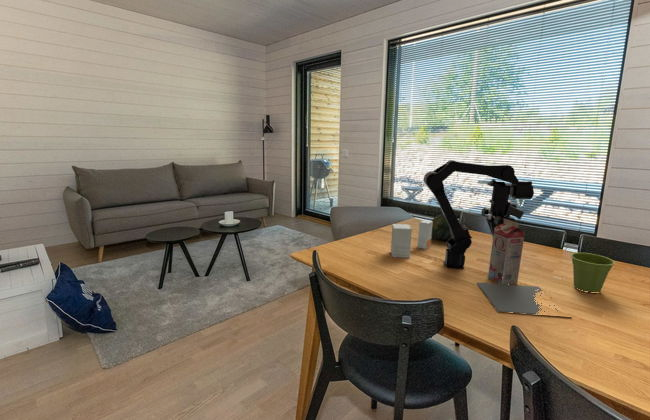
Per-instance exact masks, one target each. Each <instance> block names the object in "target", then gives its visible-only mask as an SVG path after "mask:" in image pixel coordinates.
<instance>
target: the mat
mask: <svg viewBox="0 0 650 420" xmlns="http://www.w3.org/2000/svg"><path fill="white" fill-rule="evenodd" d="M477 284H478V285H477ZM476 285H477V287H478V288H479V289H480V288H481V289H482V290H481V289H480V290H481V292H482V291H483V292H484V293H485V294H484V293H483V292H482V293H483V294H484V296H485V295H486V296H487V297H488V298H487V297H486V296H485V297H486V298H487V300H488V299H489V300H490V301H489V300H488V301H489V303H490V304H491V303H492V304H493V305H494V307H495V308H496V309H495V308H494V307H493V308H494V309H495V311H496V310H497V311H498V312H497V311H496V312H497V313H499V312H513V313H526V314H536V313H537V312H538V311H539V310H540V309H541V308H540V307H539V306H540V305H539V304H537V305H536V302H535V301H536V300H535V299H534V298H535V297H536V296H535V295H536V294H535V293H537V292H540V291H542V290H543V289H542V290H541V287H540V286H535V285H523V284H522V285H519V284H509V285H508V284H498V283H491V282H476ZM537 289H539V290H538V291H535V290H537ZM544 293H546V292H545V291H544ZM541 294H542V293H541ZM533 295H534V296H535V297H534V296H533ZM540 296H541V295H540ZM534 300H535V301H534ZM537 303H538V302H537ZM492 304H491V305H492ZM541 304H542V303H541ZM493 305H492V306H493ZM541 306H542V305H541ZM549 306H550V305H549ZM554 306H555V305H554ZM538 307H539V308H540V309H539V308H538ZM555 309H556V308H555ZM541 310H542V309H541ZM541 310H540V311H541ZM556 310H557V309H556ZM557 311H558V310H557ZM544 312H545V311H544ZM538 313H539V312H538ZM538 313H537V314H538Z"/></svg>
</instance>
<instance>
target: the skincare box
mask: <svg viewBox="0 0 650 420" xmlns="http://www.w3.org/2000/svg"><path fill="white" fill-rule="evenodd" d="M432 226H433V221H432V220H428V219H423V220H421V221H419V224H418V234H417V243H416V244H417V245H416V247H417V248H419V249H424V250H426V249H428V248H430V247H431V245H432V244H431V243H432V237H431V236H432Z"/></svg>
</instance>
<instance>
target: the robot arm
mask: <svg viewBox="0 0 650 420" xmlns="http://www.w3.org/2000/svg"><path fill="white" fill-rule="evenodd" d="M454 172H457V173H466V174H473V175H474V174H475V175H479V176H487V177H490V178H494V179H491V180H490V181H489V182H487V185H488V186H489V187H492V194H491V199H490V198H489V201H488V202H489V203H490V207H484V208H482V209H481V213H480V215H481V216H484V217H485V216H486V215H488V217H487V218H485V220H486V222H487V224H488V227H489V230H490V231H489V232H490V234H491V236H492V237H493V235H494V228H495V227H496V226H498V225H500V224H503V223H504V219H507V220H510V221H513V222H517V220H516V219H515V218H517V219H518V220H521V219H522V217H523V216H524V213H525V211H523V209H522V210H521V209H519V208H517V207H518V206H517V205H516V204H514V203H511V201H509V199H510V197H511V198H512V199H513V200H531V199H533V197H534V193H535V191H534V187H533V181H531V180H519V179H518V178H517V176H516V174H515V173H516V172H515V168H514V167H513V166H512V165H510V164H504V163H492V164H479V163H471V162H465V161H464V162H463V161H456V160H454V159H453V160H451V159H450V160H448V161H447V162H445V163H443V164H442V165H440V166H439V167H437V168H436V169H434V170H433V171H428V172H426V173H425V174H424V177H423V183H424V184H425V185H426V187H427V188H428V190H430V192H431V194H433V196H434V197H435V200H436V201H437V204H438V205H439V207H440V210H441V212H442V214H444V216H445V218H446V221H447V223H448V225H449V227H450V233H451V237H452V238H450V239H449V240H445V245H446V247H447V248H445V257H444V260H443V264H444V266H445V267H446V268H448V269H450V268H451V269H461V270H463V269H465V264H466V263H465V261H466V255H465V254H466V251H467V250H468V249H469V248H470V247H471V245H472V243H473V242H472V240H473V237H472V236H471V235H470V234H471V233H470V231H469V228H468V227H466V226H465V224H462V225H460V224H461V222H460V220H459V219H458V217H457V215H456V214H455V211H454V209H453V207H452V205H451V202H450V200H449V199H448V196H447V194H446V191H445V185H444V181H445V180H447V178H449V176H451V175H452V174H454ZM496 179H497V180H498V181H497V180H496ZM506 183H508V184H506ZM503 218H504V219H503ZM458 220H459V221H458ZM459 222H460V223H459Z"/></svg>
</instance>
